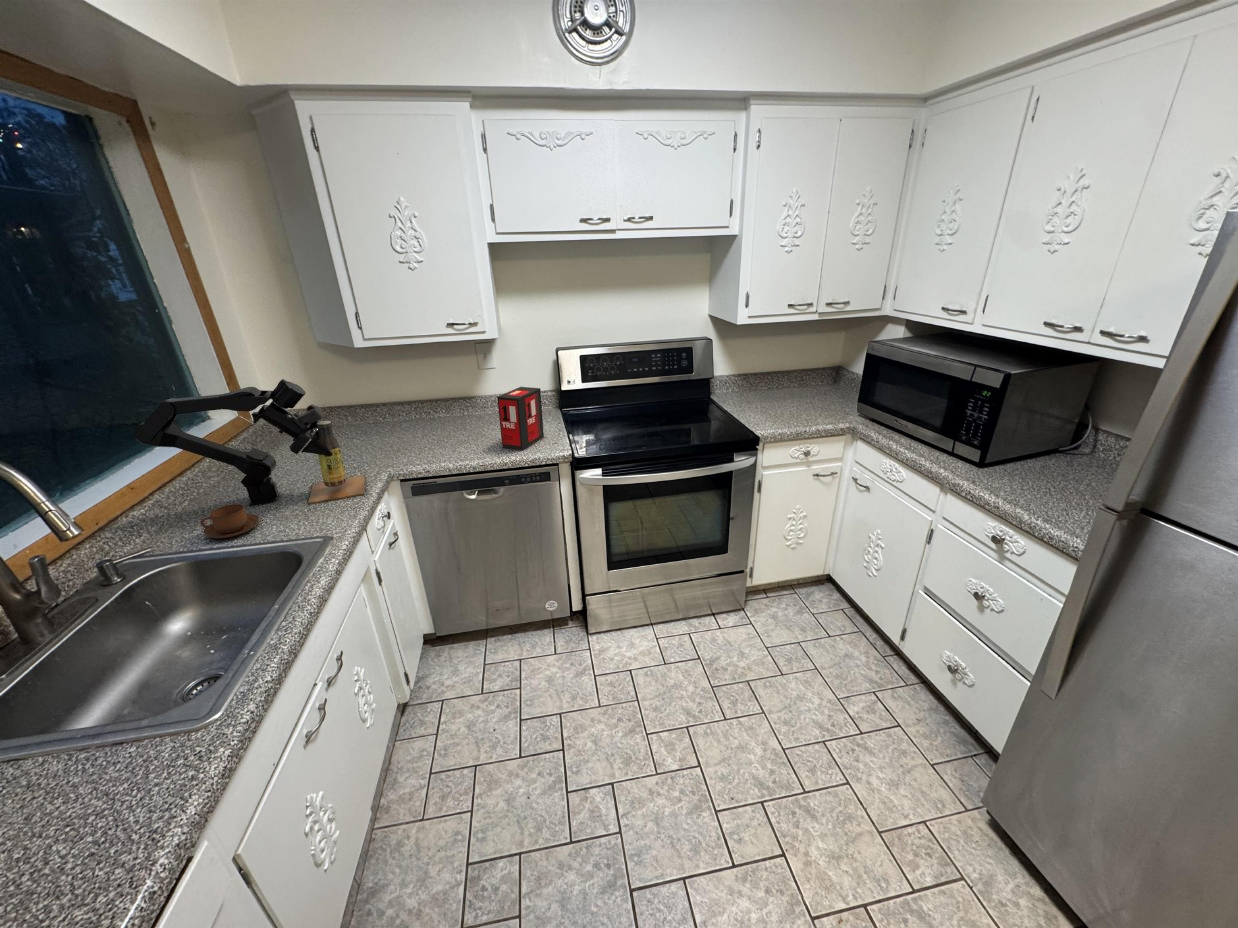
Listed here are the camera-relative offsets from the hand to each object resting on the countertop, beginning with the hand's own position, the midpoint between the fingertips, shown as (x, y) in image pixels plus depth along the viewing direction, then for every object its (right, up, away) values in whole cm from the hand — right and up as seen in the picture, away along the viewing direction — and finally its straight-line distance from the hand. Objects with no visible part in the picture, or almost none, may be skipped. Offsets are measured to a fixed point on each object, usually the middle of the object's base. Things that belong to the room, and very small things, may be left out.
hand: (333, 451), depth 153 cm
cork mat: (-1, -12, +5) cm, 13 cm away
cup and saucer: (-16, -22, -19) cm, 33 cm away
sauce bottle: (-1, -10, +4) cm, 11 cm away
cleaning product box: (+50, +5, +44) cm, 67 cm away
